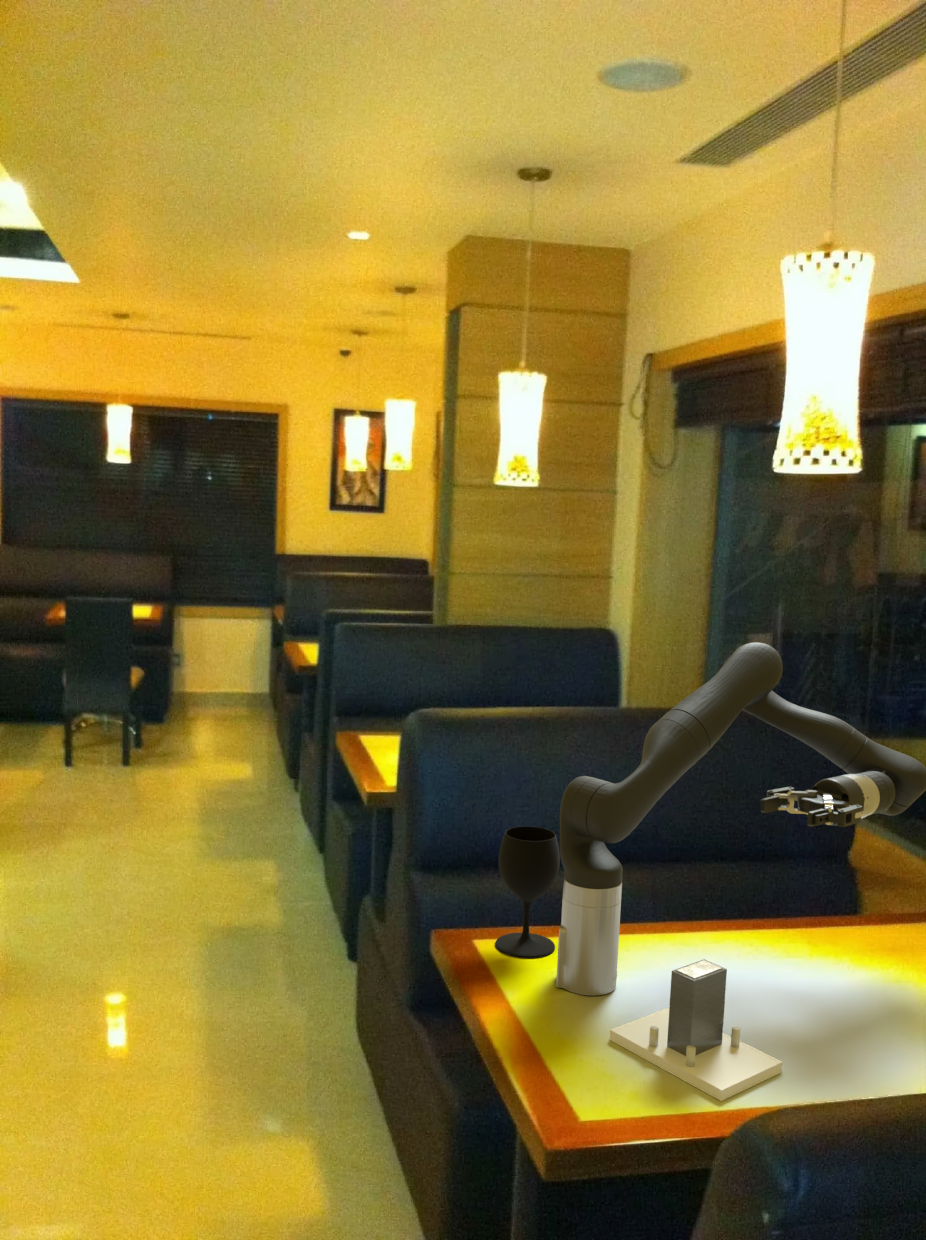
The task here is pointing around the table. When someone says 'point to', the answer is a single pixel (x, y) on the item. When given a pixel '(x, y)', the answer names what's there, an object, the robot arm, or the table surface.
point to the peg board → (698, 1057)
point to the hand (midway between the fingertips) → (785, 812)
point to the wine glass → (528, 883)
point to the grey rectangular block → (696, 1007)
